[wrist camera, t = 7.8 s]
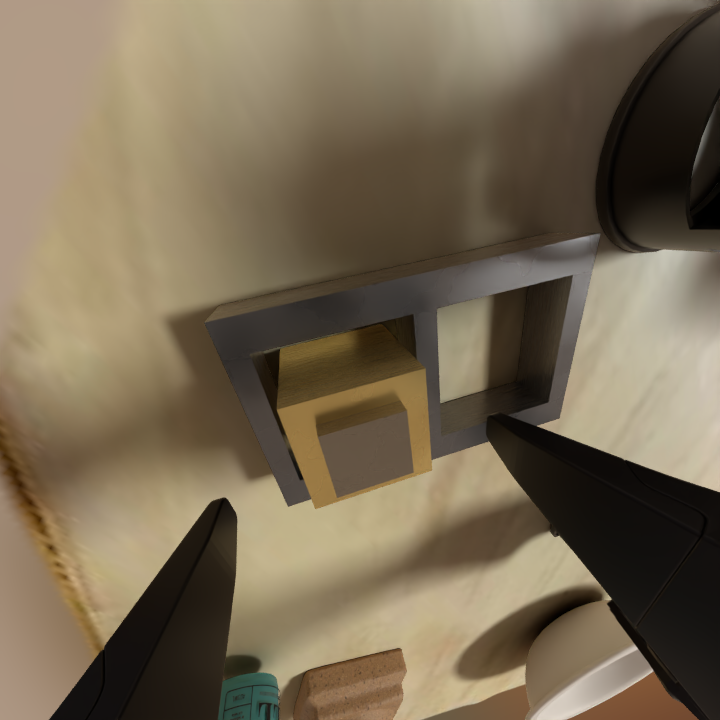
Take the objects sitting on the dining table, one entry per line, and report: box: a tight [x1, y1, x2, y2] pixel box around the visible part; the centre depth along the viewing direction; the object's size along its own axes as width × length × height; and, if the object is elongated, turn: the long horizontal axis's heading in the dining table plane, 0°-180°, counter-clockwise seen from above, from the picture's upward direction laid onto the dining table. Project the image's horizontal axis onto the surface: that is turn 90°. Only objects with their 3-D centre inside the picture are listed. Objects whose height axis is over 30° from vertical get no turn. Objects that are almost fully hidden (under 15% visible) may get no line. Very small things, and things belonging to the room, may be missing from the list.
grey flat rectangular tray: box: [204, 232, 601, 507], centre depth 14 cm, size 16×10×2 cm, turn 100°
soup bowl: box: [525, 600, 653, 720], centre depth 38 cm, size 24×24×7 cm
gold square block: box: [277, 324, 432, 509], centre depth 12 cm, size 5×5×6 cm
